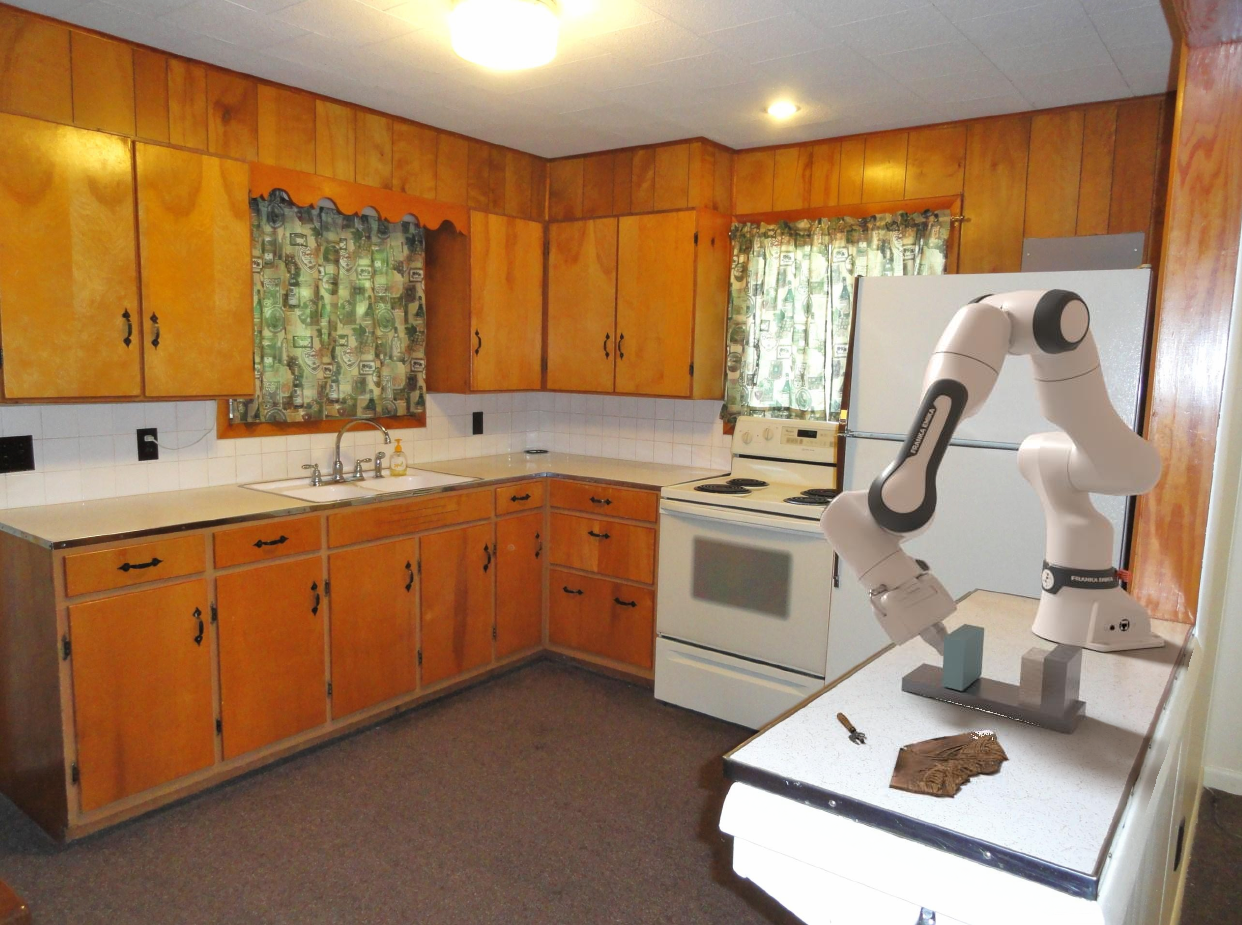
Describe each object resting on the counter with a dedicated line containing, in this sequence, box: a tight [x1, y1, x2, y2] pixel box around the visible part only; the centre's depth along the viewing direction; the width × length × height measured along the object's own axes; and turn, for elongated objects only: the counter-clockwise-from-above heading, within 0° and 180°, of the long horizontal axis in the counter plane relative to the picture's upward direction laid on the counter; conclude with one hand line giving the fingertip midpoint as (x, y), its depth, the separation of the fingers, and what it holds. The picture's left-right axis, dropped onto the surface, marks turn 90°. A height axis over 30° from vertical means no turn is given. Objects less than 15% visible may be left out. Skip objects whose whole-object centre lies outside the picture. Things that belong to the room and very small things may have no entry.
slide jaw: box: [942, 623, 985, 691], centre depth 129 cm, size 3×9×8 cm, turn 139°
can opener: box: [836, 712, 866, 746], centre depth 116 cm, size 9×2×1 cm, turn 0°
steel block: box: [1018, 646, 1052, 709], centre depth 122 cm, size 3×6×7 cm, turn 139°
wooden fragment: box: [888, 731, 1009, 798], centre depth 108 cm, size 26×11×1 cm, turn 129°
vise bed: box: [901, 643, 1087, 735], centre depth 126 cm, size 24×9×10 cm, turn 49°
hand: (949, 652), depth 130 cm, fingers closed, pressing on slide jaw
